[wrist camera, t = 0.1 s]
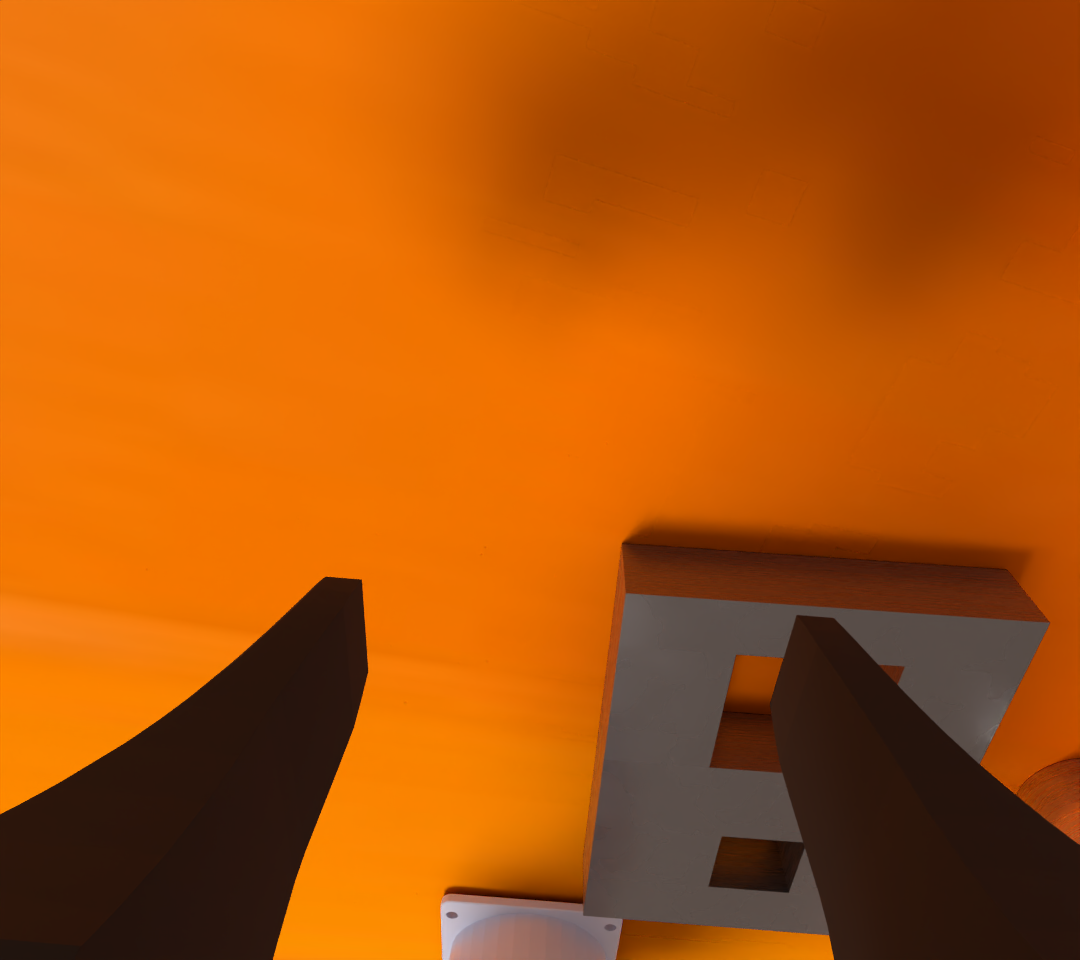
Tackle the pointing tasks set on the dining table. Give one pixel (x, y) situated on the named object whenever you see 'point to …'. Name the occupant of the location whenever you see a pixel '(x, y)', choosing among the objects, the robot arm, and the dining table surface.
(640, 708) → the fitting block
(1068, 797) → the cylinder
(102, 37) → the dining table surface
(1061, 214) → the dining table surface
